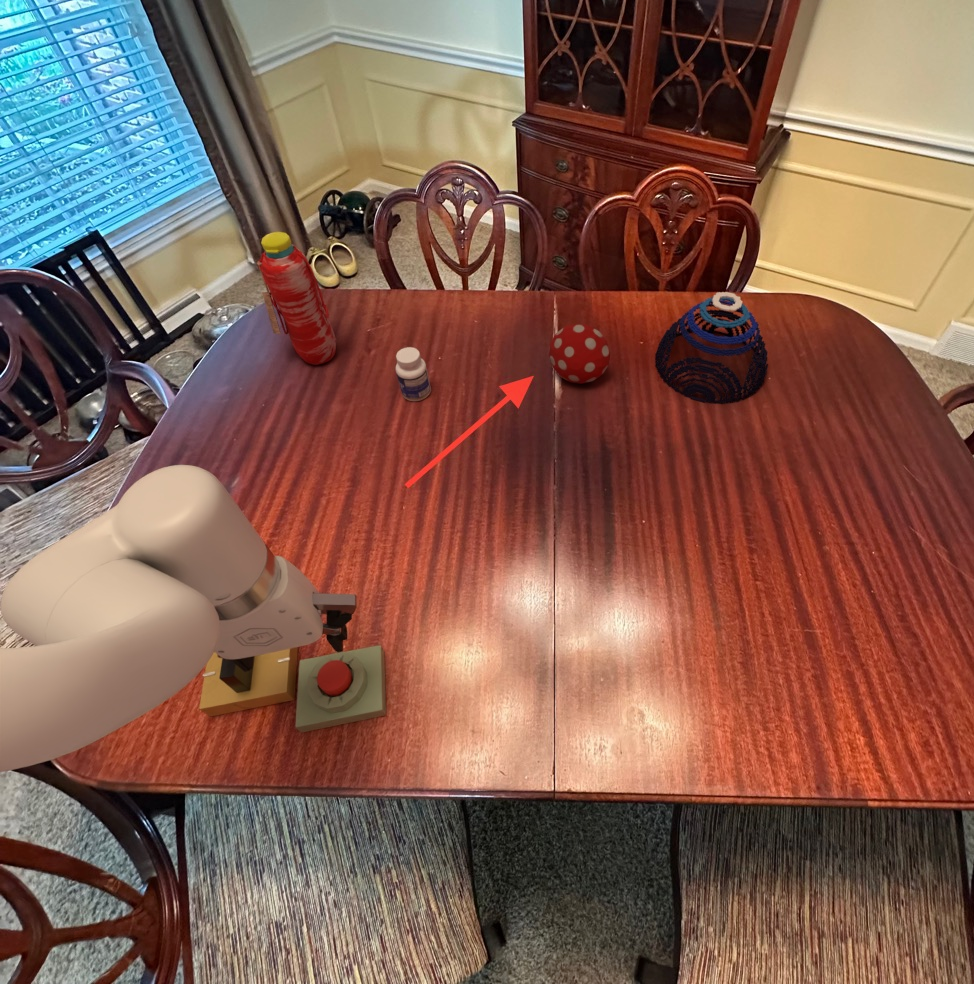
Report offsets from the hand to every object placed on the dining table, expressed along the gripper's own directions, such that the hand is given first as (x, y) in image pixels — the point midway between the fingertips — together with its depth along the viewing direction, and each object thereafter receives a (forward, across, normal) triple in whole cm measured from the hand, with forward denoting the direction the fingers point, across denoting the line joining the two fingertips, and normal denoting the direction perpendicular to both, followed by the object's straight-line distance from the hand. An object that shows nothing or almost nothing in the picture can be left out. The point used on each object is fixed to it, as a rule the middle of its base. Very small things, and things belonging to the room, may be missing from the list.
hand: (295, 648), depth 66 cm
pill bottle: (+12, +15, +49) cm, 53 cm away
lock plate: (+12, -9, +3) cm, 15 cm away
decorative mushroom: (+13, +45, +50) cm, 68 cm away
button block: (+12, +2, -1) cm, 12 cm away
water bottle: (+12, -4, +64) cm, 65 cm away
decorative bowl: (+13, +69, +44) cm, 83 cm away
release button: (+8, +2, -1) cm, 8 cm away
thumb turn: (+8, -9, +3) cm, 12 cm away
